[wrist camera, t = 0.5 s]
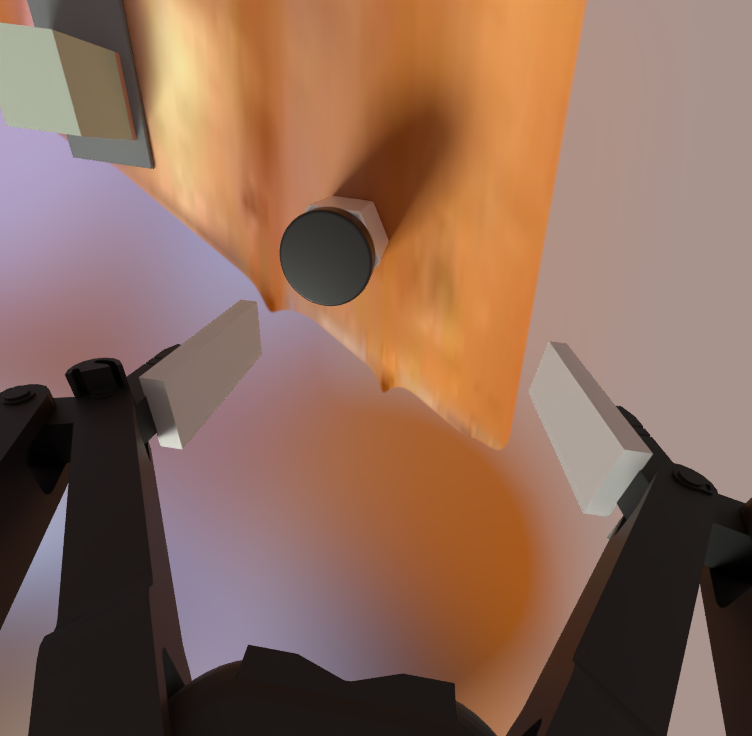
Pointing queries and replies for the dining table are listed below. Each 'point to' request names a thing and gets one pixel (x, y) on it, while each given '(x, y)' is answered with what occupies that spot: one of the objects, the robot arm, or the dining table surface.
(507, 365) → the dining table surface
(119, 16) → the mat
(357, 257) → the jar
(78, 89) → the block
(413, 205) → the dining table surface
